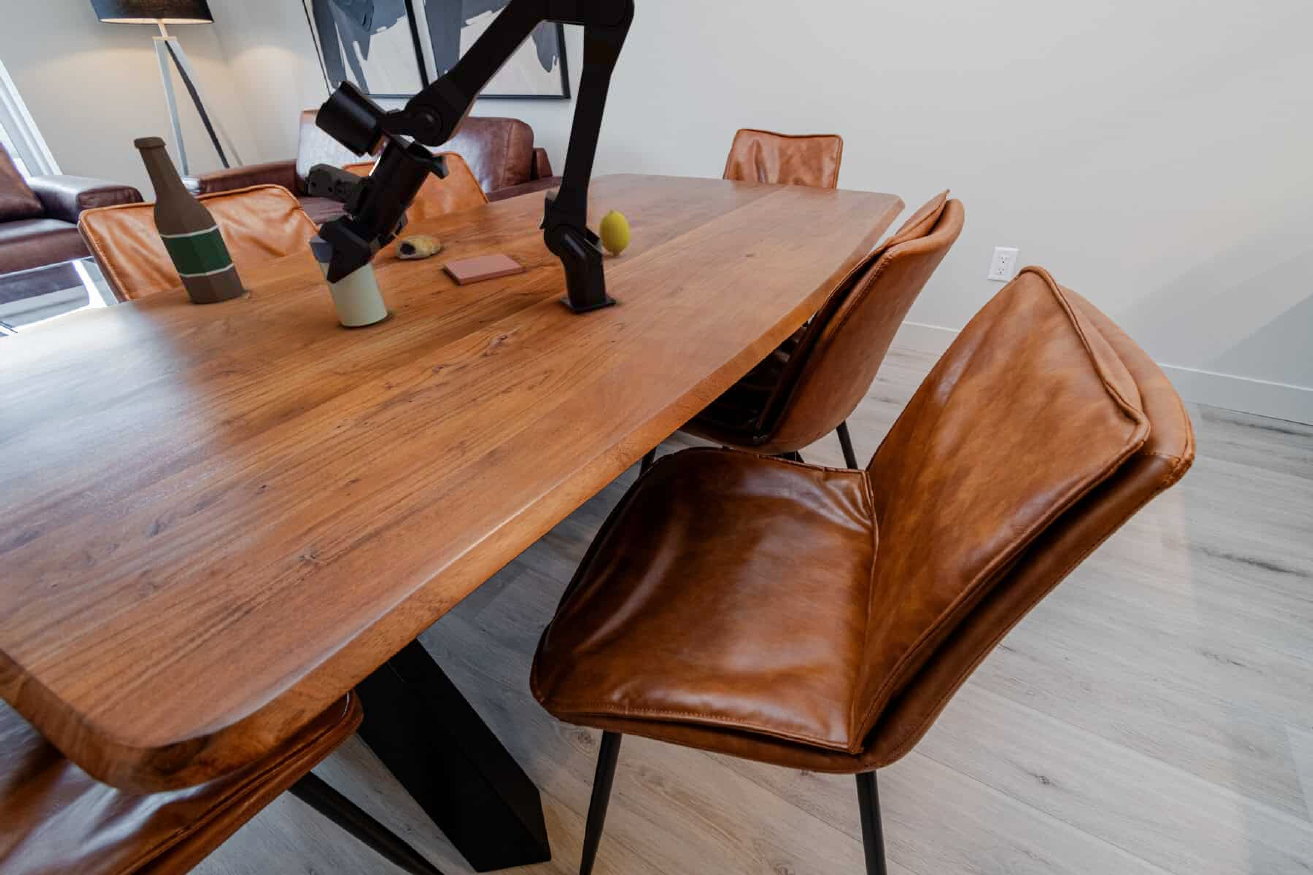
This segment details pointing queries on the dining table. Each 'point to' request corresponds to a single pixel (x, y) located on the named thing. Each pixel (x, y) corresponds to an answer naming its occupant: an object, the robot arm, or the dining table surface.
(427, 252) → the pastry
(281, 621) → the dining table surface
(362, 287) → the jar
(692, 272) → the dining table surface
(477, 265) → the coaster
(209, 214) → the beer bottle
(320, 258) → the jar lid
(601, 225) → the lemon
